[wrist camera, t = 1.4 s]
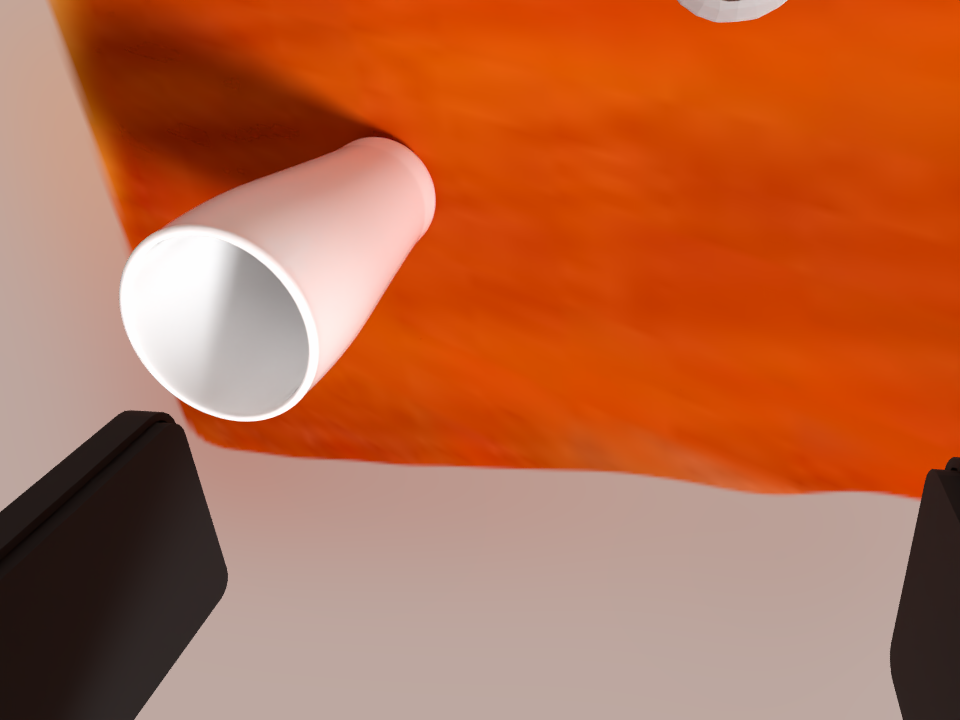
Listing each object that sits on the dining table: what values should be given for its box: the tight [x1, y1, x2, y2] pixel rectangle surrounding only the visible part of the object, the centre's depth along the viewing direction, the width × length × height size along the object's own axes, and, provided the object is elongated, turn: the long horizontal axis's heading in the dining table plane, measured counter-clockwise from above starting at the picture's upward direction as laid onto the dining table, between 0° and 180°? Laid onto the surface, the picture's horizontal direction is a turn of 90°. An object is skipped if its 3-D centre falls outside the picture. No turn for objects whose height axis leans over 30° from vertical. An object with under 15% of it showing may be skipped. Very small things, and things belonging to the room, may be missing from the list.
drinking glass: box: [119, 137, 436, 421], centre depth 30 cm, size 7×7×15 cm
